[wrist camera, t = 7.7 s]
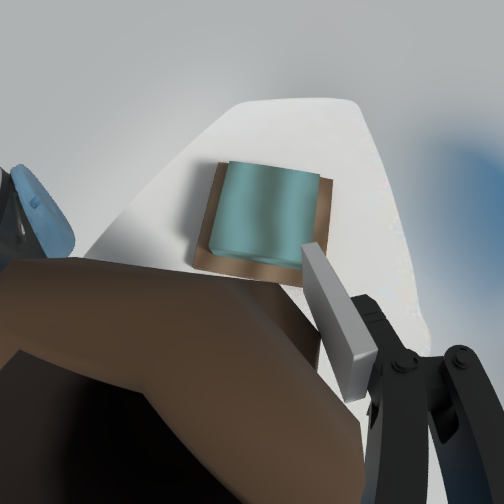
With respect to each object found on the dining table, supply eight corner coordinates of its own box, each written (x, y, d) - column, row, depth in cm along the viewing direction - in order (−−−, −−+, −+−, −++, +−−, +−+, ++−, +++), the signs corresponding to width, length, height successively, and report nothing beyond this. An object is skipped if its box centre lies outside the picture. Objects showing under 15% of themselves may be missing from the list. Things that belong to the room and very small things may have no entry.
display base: (194, 268, 40) (184, 258, 35) (220, 167, 44) (214, 147, 39) (319, 290, 39) (328, 283, 33) (330, 184, 43) (339, 165, 37)
